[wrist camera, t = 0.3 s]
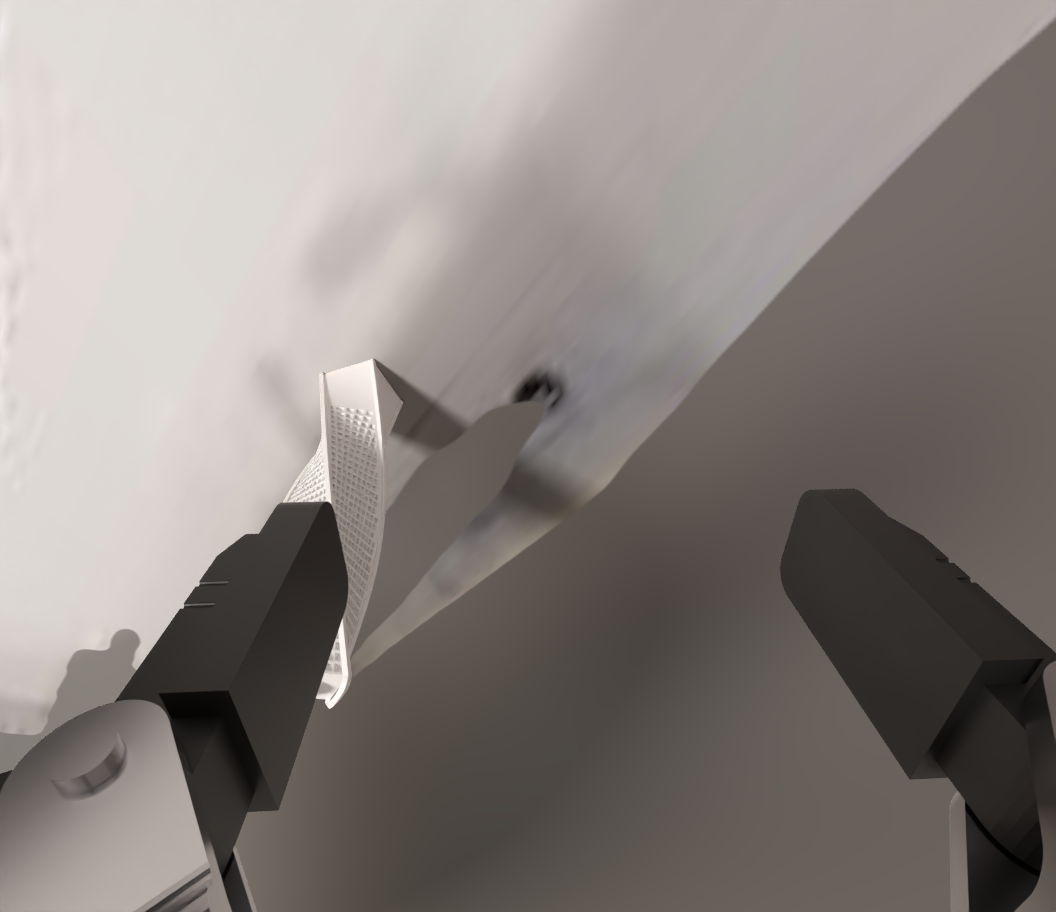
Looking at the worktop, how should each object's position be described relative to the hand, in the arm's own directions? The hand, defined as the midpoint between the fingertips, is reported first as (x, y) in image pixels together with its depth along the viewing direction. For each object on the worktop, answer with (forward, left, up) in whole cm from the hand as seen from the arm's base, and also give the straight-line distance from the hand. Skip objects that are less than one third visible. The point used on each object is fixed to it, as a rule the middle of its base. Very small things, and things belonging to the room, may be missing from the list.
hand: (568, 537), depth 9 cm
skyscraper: (+11, -26, -31) cm, 42 cm away
